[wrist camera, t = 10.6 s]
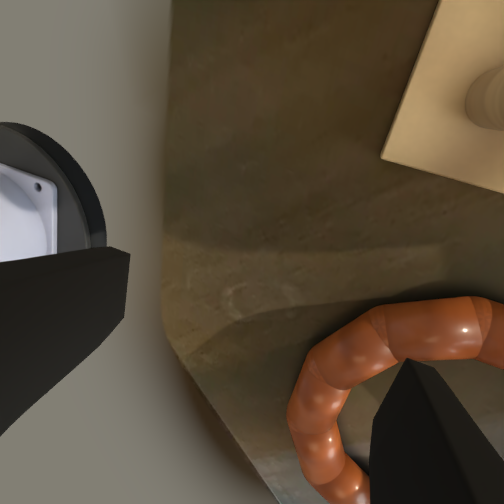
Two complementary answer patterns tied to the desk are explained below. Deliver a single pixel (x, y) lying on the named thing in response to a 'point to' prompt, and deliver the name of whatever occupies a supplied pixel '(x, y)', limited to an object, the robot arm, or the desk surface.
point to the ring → (371, 363)
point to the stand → (455, 98)
